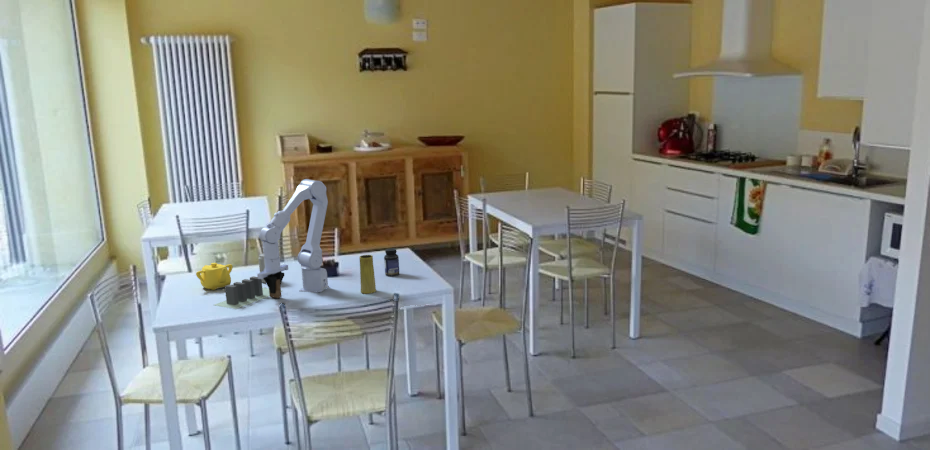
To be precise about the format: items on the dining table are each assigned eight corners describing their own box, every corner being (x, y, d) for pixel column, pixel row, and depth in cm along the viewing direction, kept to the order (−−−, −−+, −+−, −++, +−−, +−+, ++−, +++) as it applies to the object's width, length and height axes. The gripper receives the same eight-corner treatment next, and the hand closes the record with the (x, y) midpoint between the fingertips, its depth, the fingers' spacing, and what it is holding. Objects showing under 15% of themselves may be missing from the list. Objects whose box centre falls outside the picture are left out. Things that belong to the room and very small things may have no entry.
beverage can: (272, 284, 294) (269, 256, 292) (258, 283, 296) (255, 256, 293) (279, 280, 301) (276, 252, 298) (265, 279, 302) (262, 252, 300)
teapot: (239, 282, 300) (236, 258, 298) (228, 291, 287) (226, 266, 285) (207, 283, 300) (204, 259, 298) (195, 292, 287) (192, 267, 285)
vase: (363, 294, 275) (361, 259, 272) (358, 291, 280) (356, 255, 277) (378, 292, 278) (376, 256, 275) (373, 288, 283) (370, 253, 280)
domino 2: (238, 299, 274) (236, 281, 272) (247, 300, 272) (245, 283, 270) (235, 300, 272) (233, 283, 271) (243, 302, 270) (241, 284, 269)
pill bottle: (402, 273, 303) (401, 248, 301) (393, 277, 298) (392, 251, 296) (391, 272, 307) (389, 247, 304) (382, 275, 301) (380, 250, 299)
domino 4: (254, 293, 281) (253, 276, 280) (262, 294, 279) (261, 277, 278) (251, 294, 279) (249, 277, 278) (259, 295, 277) (257, 278, 276)
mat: (261, 288, 289) (261, 287, 289) (283, 291, 283) (283, 290, 283) (213, 305, 268) (213, 305, 268) (236, 309, 262) (235, 308, 262)
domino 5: (273, 295, 276) (271, 278, 275) (281, 296, 274) (279, 279, 272) (269, 296, 274) (267, 279, 273) (278, 298, 272) (276, 280, 271)
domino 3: (246, 296, 277) (245, 279, 276) (255, 297, 275) (253, 280, 274) (243, 297, 276) (241, 280, 275) (251, 298, 274) (249, 281, 272)
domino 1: (230, 302, 270) (228, 284, 269) (238, 303, 268) (236, 286, 267) (226, 303, 269) (224, 286, 267) (235, 305, 267) (233, 287, 265)
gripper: (277, 252, 279) (280, 286, 282) (250, 261, 267) (253, 296, 269) (291, 254, 276) (294, 287, 278) (263, 263, 263) (267, 298, 266)
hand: (275, 292), depth 274 cm, fingers closed on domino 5, 2 cm apart
